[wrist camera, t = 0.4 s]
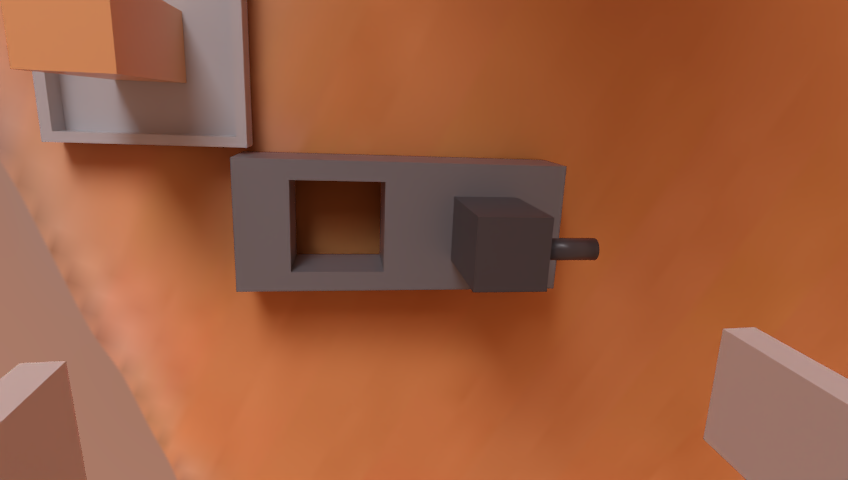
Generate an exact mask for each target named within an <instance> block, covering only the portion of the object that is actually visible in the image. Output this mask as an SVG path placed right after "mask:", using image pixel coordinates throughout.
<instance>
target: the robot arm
mask: <svg viewBox="0 0 848 480" xmlns="http://www.w3.org/2000/svg"><path fill="white" fill-rule="evenodd" d="M703 439H704V440H705V441H706V442H707V443H708V444H709V445H710V446H711V447H712V448H713V449H715V450H716V451H717V452H718V453H719V454H720V455H721V456H722V457H723V458H724V459H725V460H726V461H727V462H728V463H729V464H730V465H731V466H732V467H734V468H735V469H736V470H737V471H738V472H739V473H740V474H741V475H742V476H743V477H744V478H745V479H746V480H848V379H847V378H845V377H843V376H842V375H840V374H838V373H836V372H834V371H833V370H831V369H829V368H827V367H825V366H824V365H822V364H820V363H818V362H816V361H815V360H813V359H811V358H809V357H807V356H806V355H804V354H802V353H800V352H798V351H797V350H795V349H793V348H791V347H789V346H788V345H786V344H784V343H782V342H780V341H779V340H777V339H775V338H773V337H771V336H770V335H768V334H766V333H764V332H762V331H761V330H759V329H757V328H755V327H749V328H728V329H723V332H722V337H721V343H720V349H719V354H718V360H717V365H716V371H715V377H714V382H713V388H712V393H711V399H710V404H709V410H708V416H707V421H706V427H705V432H704V438H703ZM0 480H87V478H86V473H85V467H84V461H83V456H82V450H81V444H80V439H79V433H78V427H77V421H76V416H75V410H74V404H73V398H72V393H71V387H70V382H69V376H68V370H67V365H66V361H59V362H58V361H57V362H38V363H37V362H36V363H19V364H18V365H17V366H16V367H14V368H13V369H12V370H11V371H9V372H8V373H7V374H6V375H5V376H3V377H2V378H1V379H0Z"/></svg>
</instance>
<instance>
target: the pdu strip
mask: <svg viewBox="0 0 848 480" xmlns="http://www.w3.org/2000/svg"><path fill="white" fill-rule="evenodd" d="M566 167H567V166H563V165H559V164H556V163H552V162H549V161H545V160H529V159H494V158H459V157H424V156H389V155H354V154H319V153H284V152H249V151H243V152H241V153H239V154H236V155H234V156H232V157H230V169H231V189H232V209H233V230H234V250H235V270H236V290H237V292H254V291H350V290H446V289H471V290H472V291H473V292H547V288H553V287H554V278H555V269H556V260H596V259H597V258H598V255H599V243H598V241H597V240H596V239H595V238H559V232H560V222H561V213H562V204H563V195H564V185H565V176H566ZM295 180H315V181H363V182H381V207H380V254H297V243H296V190H295Z"/></svg>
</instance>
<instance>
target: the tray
mask: <svg viewBox="0 0 848 480" xmlns="http://www.w3.org/2000/svg"><path fill="white" fill-rule="evenodd" d="M163 1H164V2H166V3H168V4H170V5H171V6H173V7H175V8H177V9H178V10H180V11H182V22H183V37H184V51H185V66H186V81H187V83H172V82H151V81H129V80H112V79H102V78H93V77H83V76H74V75H65V74H55V73H46V72H36V71H32V74H33V81H34V89H35V96H36V103H37V111H38V118H39V125H40V133H41V140H42V142H69V143H102V144H136V145H170V146H204V147H238V148H248V147H250V146H252V145H253V139H252V113H251V88H250V62H249V36H248V10H247V0H163Z"/></svg>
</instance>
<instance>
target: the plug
mask: <svg viewBox="0 0 848 480" xmlns="http://www.w3.org/2000/svg"><path fill="white" fill-rule="evenodd" d="M0 1H1V8H2V15H3V21H4V28H5V35H6V42H7V49H8V56H9V63H10V69H17V70H27V71H36V72H46V73H55V74H65V75H74V76H83V77H93V78H102V79H112V80H129V81H151V82H172V83H187V81H186V66H185V51H184V37H183V22H182V11H180V10H178V9H177V8H175V7H173V6H171V5H170V4H168V3H166V2H164V1H163V0H0Z"/></svg>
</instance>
